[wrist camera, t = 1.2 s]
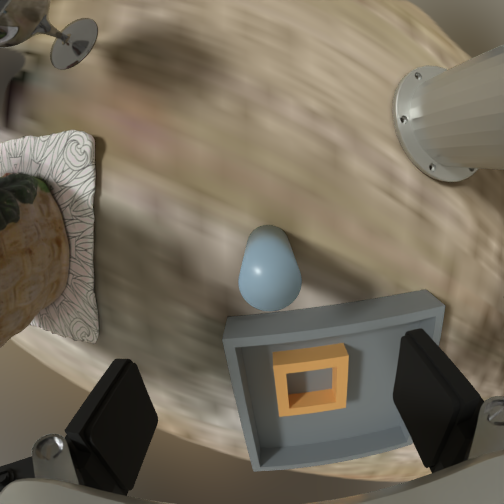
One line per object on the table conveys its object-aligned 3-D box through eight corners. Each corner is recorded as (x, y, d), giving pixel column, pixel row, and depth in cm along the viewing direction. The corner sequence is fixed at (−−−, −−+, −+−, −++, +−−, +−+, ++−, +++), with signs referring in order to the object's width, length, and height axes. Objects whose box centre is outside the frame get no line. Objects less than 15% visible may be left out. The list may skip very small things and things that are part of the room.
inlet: (343, 342, 30) (348, 355, 28) (341, 394, 32) (345, 407, 30) (272, 352, 31) (273, 365, 28) (278, 402, 32) (279, 416, 30)
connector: (286, 222, 28) (298, 248, 18) (291, 263, 29) (303, 307, 19) (244, 227, 28) (234, 256, 19) (249, 268, 29) (243, 314, 20)
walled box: (425, 289, 29) (445, 305, 25) (402, 423, 35) (411, 444, 30) (227, 316, 31) (222, 339, 26) (254, 447, 36) (253, 471, 32)
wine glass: (83, 75, 25) (-11, 37, 10) (39, 71, 24) (-48, 46, 10) (111, 15, 23) (38, -46, 8) (64, 16, 22) (-9, -27, 8)
